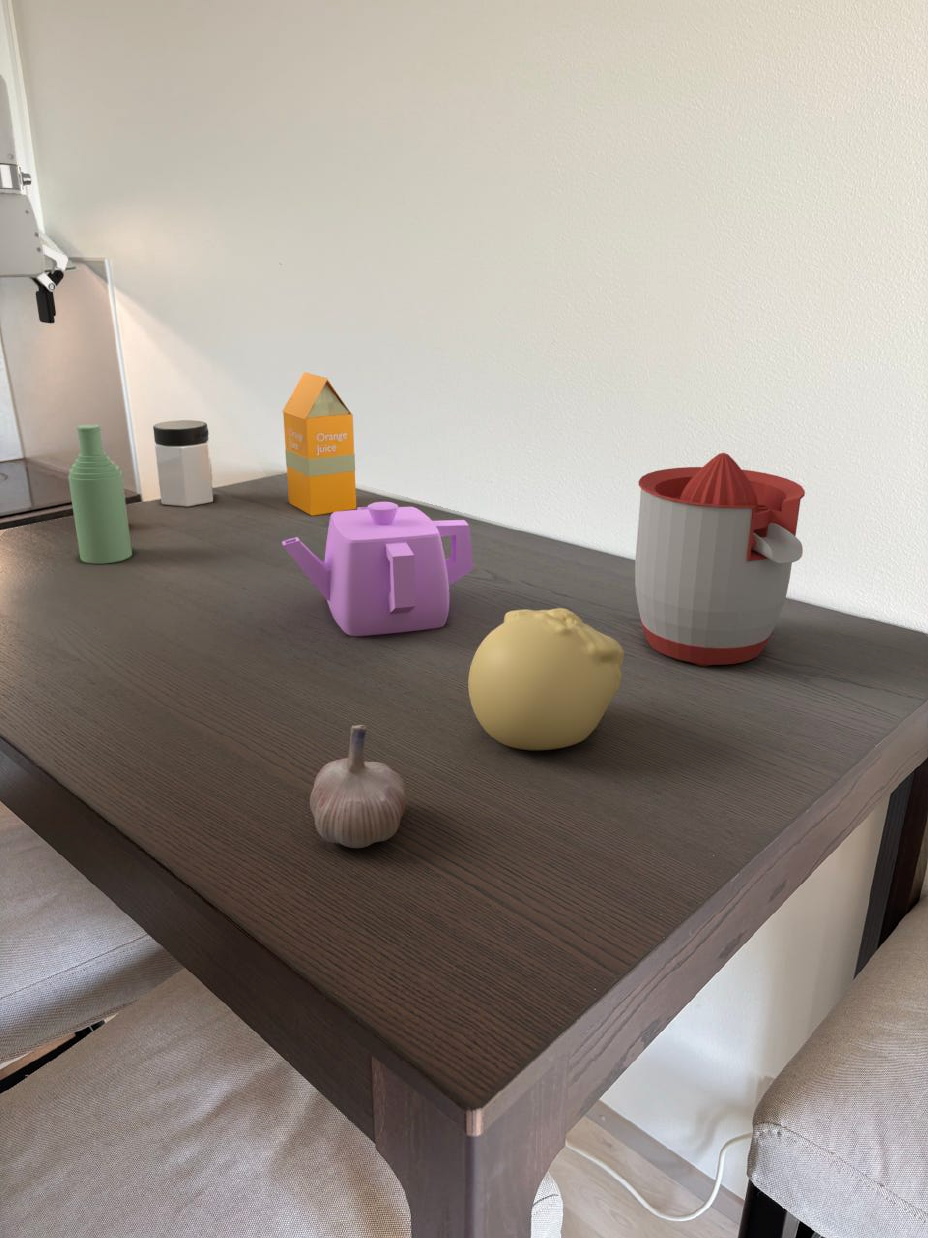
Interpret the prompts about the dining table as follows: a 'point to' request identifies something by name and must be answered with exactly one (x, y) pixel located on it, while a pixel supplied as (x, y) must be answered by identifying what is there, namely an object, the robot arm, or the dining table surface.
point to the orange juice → (319, 448)
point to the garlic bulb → (357, 798)
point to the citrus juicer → (714, 559)
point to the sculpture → (543, 679)
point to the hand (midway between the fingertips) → (11, 324)
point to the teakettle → (386, 568)
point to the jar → (183, 462)
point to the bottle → (98, 502)
